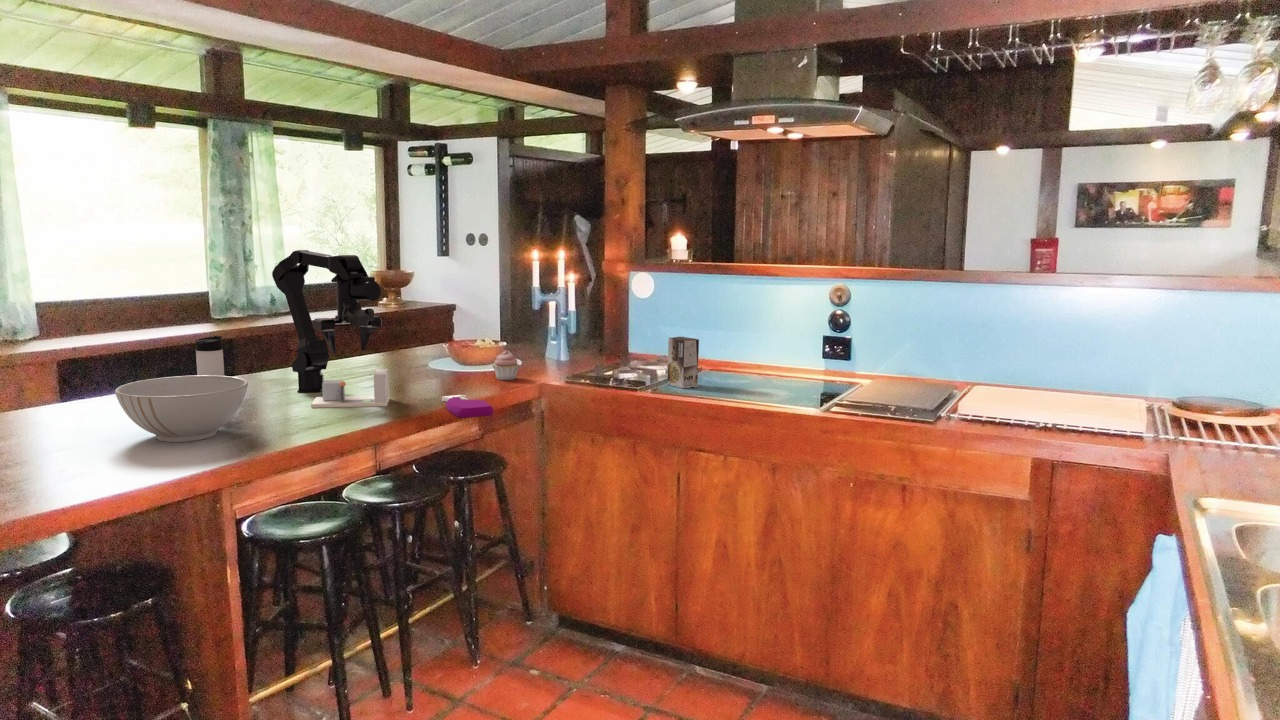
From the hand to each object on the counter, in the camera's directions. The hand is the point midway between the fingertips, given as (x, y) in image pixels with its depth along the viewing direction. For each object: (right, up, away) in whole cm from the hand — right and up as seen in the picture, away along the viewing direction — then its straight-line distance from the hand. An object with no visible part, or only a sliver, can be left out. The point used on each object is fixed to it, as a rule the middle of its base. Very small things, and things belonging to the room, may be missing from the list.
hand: (348, 351), depth 232 cm
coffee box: (+99, -11, +33) cm, 105 cm away
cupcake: (+40, -9, +37) cm, 55 cm away
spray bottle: (+36, -17, -8) cm, 40 cm away
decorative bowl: (-21, -20, -46) cm, 54 cm away
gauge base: (+4, -15, -6) cm, 16 cm away
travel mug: (-28, -16, -21) cm, 39 cm away
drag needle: (+2, -14, -9) cm, 17 cm away
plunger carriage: (-2, -14, -8) cm, 16 cm away
